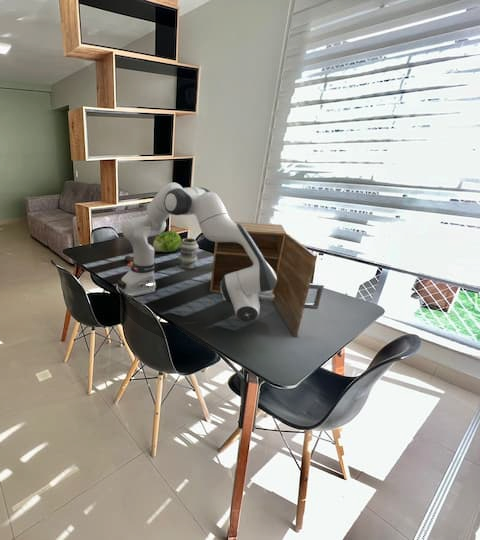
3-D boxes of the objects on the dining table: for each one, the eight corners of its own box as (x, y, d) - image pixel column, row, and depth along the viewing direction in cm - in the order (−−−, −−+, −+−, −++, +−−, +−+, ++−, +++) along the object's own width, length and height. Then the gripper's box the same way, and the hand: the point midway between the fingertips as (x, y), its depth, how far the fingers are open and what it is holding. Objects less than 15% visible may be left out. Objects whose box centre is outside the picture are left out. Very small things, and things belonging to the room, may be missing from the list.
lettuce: (149, 253, 220) (146, 236, 211) (170, 241, 226) (168, 224, 217) (162, 262, 209) (159, 245, 199) (184, 249, 215) (182, 232, 205)
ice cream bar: (138, 261, 187) (130, 254, 200) (130, 262, 186) (123, 255, 199) (137, 266, 188) (130, 258, 202) (130, 267, 187) (123, 259, 200)
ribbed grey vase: (176, 268, 183) (177, 241, 176) (179, 262, 193) (181, 236, 186) (195, 271, 178) (197, 243, 172) (198, 264, 189) (200, 238, 182)
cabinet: (272, 300, 142) (286, 233, 129) (209, 291, 152) (216, 228, 139) (269, 285, 157) (281, 224, 145) (212, 278, 167) (219, 221, 155)
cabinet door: (287, 301, 140) (302, 234, 127) (313, 337, 113) (335, 256, 100) (272, 300, 141) (285, 234, 128) (294, 336, 114) (314, 255, 101)
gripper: (276, 292, 110) (273, 278, 121) (220, 284, 117) (222, 272, 128) (273, 306, 112) (270, 291, 124) (218, 298, 119) (220, 285, 131)
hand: (245, 282), depth 126 cm, fingers open, 8 cm apart
